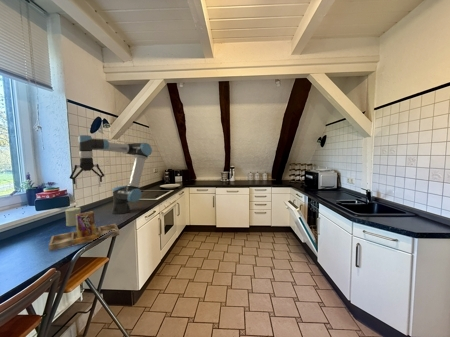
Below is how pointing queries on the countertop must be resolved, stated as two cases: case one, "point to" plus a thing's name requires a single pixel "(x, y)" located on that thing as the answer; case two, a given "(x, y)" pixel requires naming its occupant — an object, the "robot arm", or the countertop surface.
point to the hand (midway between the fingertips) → (88, 187)
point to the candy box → (85, 224)
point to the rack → (72, 239)
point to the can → (72, 216)
